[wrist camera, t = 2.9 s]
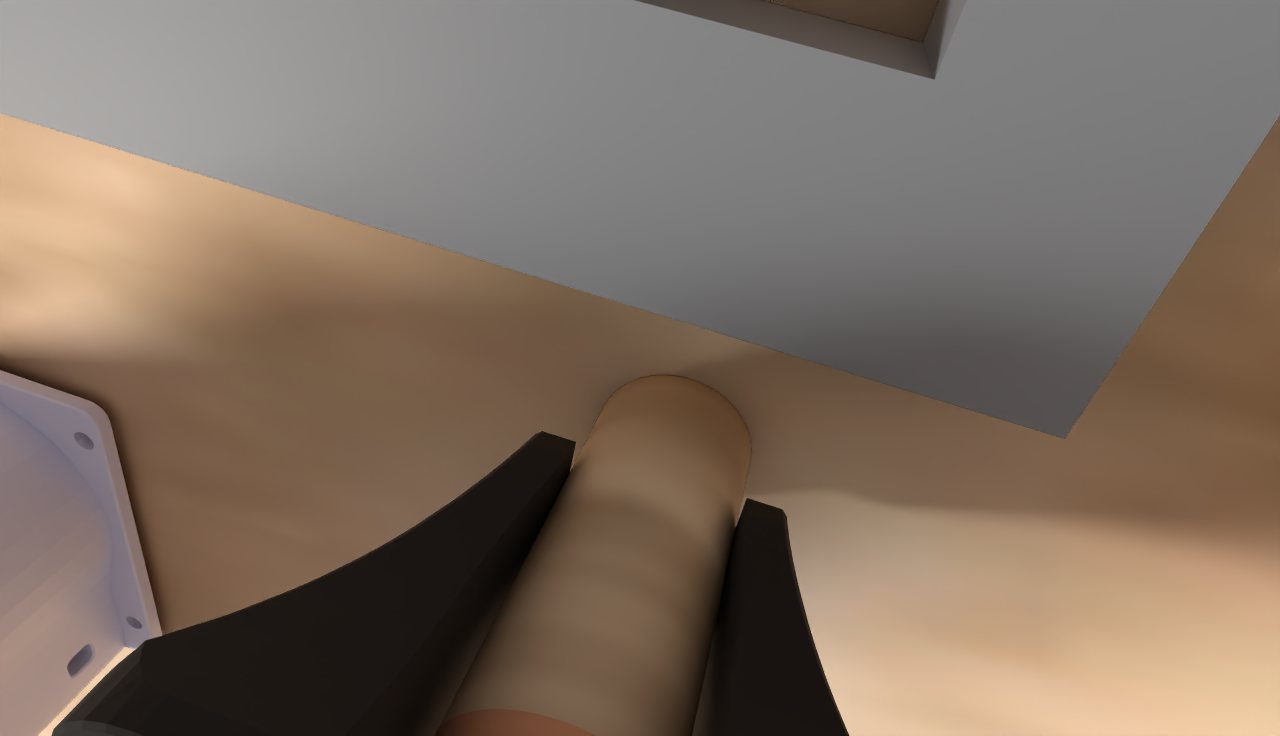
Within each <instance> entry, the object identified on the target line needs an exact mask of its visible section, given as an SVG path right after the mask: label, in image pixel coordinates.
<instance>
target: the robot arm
mask: <svg viewBox="0 0 1280 736" xmlns="http://www.w3.org/2000/svg"><path fill="white" fill-rule="evenodd" d="M575 443H576V442H574V441H571V440H568V439H565V438H562V437H559V436H556V435H552V434H549V433H546V432H543V431H542V432H539V433H537V434H535V435H534V436H533V437H532V438H531V439H530V440H529V441H527V442H526V443H525V444H524V445H523V446H522V447H521V448H520V449H518V450H517V451H516V452H515V453H514V454H513V455H511V456H510V457H509V458H508V459H507V460H505V461H504V462H503V463H502V464H501V465H499V466H498V467H497V468H496V469H494V470H493V471H492V472H491V473H489V474H488V475H487V476H486V477H484V478H483V479H482V480H480V481H479V482H478V483H476V484H475V485H474V486H472V487H471V488H470V489H468V490H467V491H466V492H464V493H463V494H461V495H460V496H459V497H457V498H456V499H455V500H453V501H452V502H450V503H449V504H447V505H446V506H444V507H443V508H441V509H440V510H438V511H437V512H435V513H434V514H432V515H431V516H429V517H428V518H426V519H425V520H423V521H422V522H420V523H419V524H417V525H416V526H414V527H413V528H411V529H409V530H408V531H406V532H404V533H403V534H401V535H399V536H398V537H396V538H394V539H393V540H391V541H389V542H387V543H386V544H384V545H382V546H380V547H379V548H377V549H375V550H373V551H371V552H369V553H368V554H366V555H364V556H362V557H360V558H358V559H356V560H354V561H352V562H350V563H348V564H346V565H344V566H342V567H340V568H338V569H336V570H334V571H332V572H330V573H328V574H326V575H324V576H322V577H320V578H317V579H315V580H313V581H311V582H309V583H306V584H304V585H302V586H299V587H297V588H295V589H292V590H290V591H287V592H285V593H282V594H280V595H277V596H275V597H272V598H270V599H267V600H265V601H262V602H260V603H257V604H255V605H252V606H250V607H247V608H245V609H242V610H239V611H237V612H234V613H231V614H228V615H225V616H223V617H220V618H216V619H213V620H210V621H207V622H204V623H201V624H197V625H194V626H191V627H188V628H185V629H182V630H178V631H175V632H172V633H169V634H166V635H163V634H162V630H161V626H160V622H159V618H158V614H157V610H156V606H155V602H154V598H153V594H152V590H151V586H150V582H149V578H148V573H147V569H146V565H145V561H144V557H143V553H142V549H141V545H140V541H139V537H138V533H137V529H136V525H135V521H134V517H133V512H132V508H131V504H130V500H129V496H128V492H127V488H126V484H125V480H124V476H123V472H122V468H121V464H120V460H119V456H118V451H117V447H116V443H115V439H114V435H113V431H112V427H111V423H110V420H109V418H108V415H107V414H106V413H105V412H104V410H103V409H102V408H101V407H99V406H98V405H97V404H95V403H93V402H91V401H89V400H86V399H83V398H80V397H77V396H74V395H72V394H69V393H66V392H63V391H60V390H57V389H54V388H51V387H48V386H45V385H42V384H40V383H37V382H34V381H31V380H28V379H25V378H22V377H19V376H16V375H13V374H10V373H8V372H5V371H2V370H0V736H38V735H39V734H40V733H41V732H42V731H43V730H44V729H45V728H46V727H47V726H48V725H49V724H50V723H51V721H52V720H53V719H54V718H55V717H56V716H57V715H58V714H59V713H60V712H61V711H62V710H63V709H64V708H65V707H66V706H67V705H68V704H69V703H70V702H71V701H72V700H73V699H74V698H75V697H76V696H77V695H78V694H79V693H80V692H81V691H82V690H83V689H84V688H85V687H86V686H87V685H88V684H89V683H90V682H91V681H92V680H93V679H94V678H95V677H96V676H97V675H98V674H99V673H100V672H101V671H102V670H103V669H104V667H105V666H106V665H107V664H108V663H109V662H110V661H111V660H112V659H113V658H114V657H115V656H116V655H117V654H118V653H119V652H120V651H121V650H122V649H123V648H124V647H128V648H131V649H133V650H134V651H133V652H132V653H131V654H129V655H128V656H127V657H126V658H125V659H123V660H122V661H121V662H120V663H119V664H117V665H116V666H115V667H114V668H113V669H112V670H111V671H110V672H109V673H108V674H107V675H106V676H105V677H104V678H103V679H102V680H101V681H100V682H99V683H98V684H97V685H96V686H95V687H94V688H93V689H92V690H91V691H90V692H89V693H88V694H87V695H86V696H85V697H84V698H83V700H82V701H81V702H80V703H79V704H78V705H77V706H76V707H75V708H74V709H73V710H72V711H71V712H70V713H69V714H68V715H67V716H66V717H65V718H64V719H63V720H62V721H61V722H60V723H59V724H58V725H57V726H56V727H55V728H54V730H53V733H52V736H435V734H436V732H437V730H438V728H439V726H440V724H441V722H442V720H443V718H444V716H445V714H446V712H447V710H448V709H449V707H450V705H451V703H452V701H453V699H454V697H455V695H456V693H457V691H458V689H459V687H460V685H461V683H462V681H463V679H464V677H465V676H466V674H467V672H468V670H469V668H470V666H471V664H472V662H473V660H474V658H475V656H476V654H477V652H478V650H479V648H480V646H481V644H482V642H483V641H484V639H485V637H486V635H487V633H488V631H489V629H490V627H491V625H492V623H493V621H494V619H495V617H496V615H497V613H498V611H499V609H500V607H501V606H502V604H503V602H504V600H505V598H506V596H507V594H508V592H509V590H510V588H511V586H512V584H513V582H514V580H515V578H516V576H517V574H518V573H519V571H520V569H521V567H522V565H523V563H524V561H525V559H526V557H527V555H528V553H529V551H530V549H531V547H532V545H533V543H534V541H535V539H536V538H537V536H538V534H539V532H540V530H541V528H542V526H543V524H544V522H545V520H546V518H547V516H548V514H549V512H550V510H551V508H552V506H553V505H554V503H555V501H556V499H557V497H558V495H559V493H560V491H561V489H562V487H563V485H564V483H565V481H566V479H567V477H568V475H569V473H570V469H571V464H572V458H573V453H574V448H575ZM692 736H849V734H848V732H847V729H846V727H845V724H844V722H843V720H842V717H841V715H840V712H839V710H838V708H837V705H836V703H835V700H834V698H833V695H832V692H831V690H830V687H829V685H828V682H827V679H826V676H825V674H824V671H823V668H822V665H821V662H820V659H819V656H818V653H817V650H816V647H815V644H814V640H813V637H812V634H811V631H810V627H809V624H808V620H807V616H806V613H805V609H804V605H803V601H802V598H801V594H800V590H799V586H798V581H797V577H796V572H795V567H794V563H793V558H792V552H791V547H790V540H789V533H788V525H787V516H786V515H785V513H784V511H783V510H782V509H779V508H776V507H773V506H770V505H767V504H764V503H761V502H758V501H755V500H752V499H748V498H747V500H746V502H745V505H744V507H743V510H742V513H741V515H740V518H739V520H738V523H737V526H736V528H735V533H734V537H733V542H732V547H731V552H730V556H729V561H728V566H727V570H726V576H725V581H724V587H723V591H722V596H721V601H720V606H719V610H718V615H717V620H716V625H715V629H714V634H713V639H712V644H711V648H710V653H709V658H708V662H707V667H706V672H705V677H704V681H703V686H702V691H701V696H700V700H699V705H698V710H697V714H696V719H695V724H694V729H693V733H692Z"/></svg>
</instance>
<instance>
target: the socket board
mask: <svg viewBox="0 0 1280 736" xmlns="http://www.w3.org/2000/svg"><path fill="white" fill-rule="evenodd" d="M0 113H1V114H4V115H8V116H11V117H14V118H18V119H21V120H24V121H27V122H31V123H34V124H37V125H40V126H44V127H47V128H50V129H53V130H57V131H60V132H63V133H67V134H70V135H73V136H76V137H80V138H83V139H86V140H89V141H93V142H96V143H99V144H103V145H106V146H109V147H112V148H116V149H119V150H122V151H125V152H129V153H132V154H135V155H138V156H142V157H145V158H148V159H152V160H155V161H158V162H161V163H165V164H168V165H171V166H174V167H178V168H181V169H184V170H188V171H191V172H194V173H197V174H201V175H204V176H207V177H210V178H214V179H217V180H220V181H223V182H227V183H230V184H233V185H237V186H240V187H243V188H246V189H250V190H253V191H256V192H259V193H263V194H266V195H269V196H273V197H276V198H279V199H282V200H286V201H289V202H292V203H295V204H299V205H302V206H305V207H308V208H312V209H315V210H318V211H322V212H325V213H328V214H331V215H335V216H338V217H341V218H344V219H348V220H351V221H354V222H358V223H361V224H364V225H367V226H371V227H374V228H377V229H380V230H384V231H387V232H390V233H393V234H397V235H400V236H403V237H407V238H410V239H413V240H416V241H420V242H423V243H426V244H429V245H433V246H436V247H439V248H443V249H446V250H449V251H452V252H456V253H459V254H462V255H465V256H469V257H472V258H475V259H478V260H482V261H485V262H488V263H492V264H495V265H498V266H501V267H505V268H508V269H511V270H514V271H518V272H521V273H524V274H528V275H531V276H534V277H537V278H541V279H544V280H547V281H550V282H554V283H557V284H560V285H563V286H567V287H570V288H573V289H577V290H580V291H583V292H586V293H590V294H593V295H596V296H599V297H603V298H606V299H609V300H613V301H616V302H619V303H622V304H626V305H629V306H632V307H635V308H639V309H642V310H645V311H648V312H652V313H655V314H658V315H662V316H665V317H668V318H671V319H675V320H678V321H681V322H684V323H688V324H691V325H694V326H698V327H701V328H704V329H707V330H711V331H714V332H717V333H720V334H724V335H727V336H730V337H734V338H737V339H740V340H743V341H747V342H750V343H753V344H756V345H760V346H763V347H766V348H769V349H773V350H776V351H779V352H783V353H786V354H789V355H792V356H796V357H799V358H802V359H805V360H809V361H812V362H815V363H819V364H822V365H825V366H828V367H832V368H835V369H838V370H841V371H845V372H848V373H851V374H854V375H858V376H861V377H864V378H868V379H871V380H874V381H877V382H881V383H884V384H887V385H890V386H894V387H897V388H900V389H904V390H907V391H910V392H913V393H917V394H920V395H923V396H926V397H930V398H933V399H936V400H939V401H943V402H946V403H949V404H953V405H956V406H959V407H962V408H966V409H969V410H972V411H975V412H979V413H982V414H985V415H989V416H992V417H995V418H998V419H1002V420H1005V421H1008V422H1011V423H1015V424H1018V425H1021V426H1024V427H1028V428H1031V429H1034V430H1038V431H1041V432H1044V433H1047V434H1051V435H1054V436H1057V437H1060V438H1064V439H1065V438H1066V436H1067V435H1068V433H1069V432H1070V430H1071V429H1072V427H1073V426H1074V424H1075V423H1076V421H1077V420H1078V418H1079V417H1080V415H1081V414H1082V412H1083V411H1084V409H1085V408H1086V406H1087V405H1088V403H1089V402H1090V400H1091V399H1092V397H1093V396H1094V394H1095V393H1096V391H1097V390H1098V388H1099V387H1100V385H1101V384H1102V382H1103V381H1104V379H1105V378H1106V376H1107V375H1108V373H1109V372H1110V370H1111V369H1112V367H1113V366H1114V364H1115V363H1116V361H1117V360H1118V358H1119V357H1120V355H1121V354H1122V352H1123V351H1124V349H1125V348H1126V346H1127V345H1128V343H1129V342H1130V340H1131V339H1132V337H1133V336H1134V334H1135V333H1136V331H1137V330H1138V328H1139V327H1140V325H1141V324H1142V322H1143V320H1144V319H1145V317H1146V316H1147V314H1148V313H1149V311H1150V310H1151V308H1152V307H1153V305H1154V304H1155V302H1156V301H1157V299H1158V298H1159V296H1160V295H1161V293H1162V292H1163V290H1164V289H1165V287H1166V286H1167V284H1168V283H1169V281H1170V280H1171V278H1172V277H1173V275H1174V274H1175V272H1176V271H1177V269H1178V268H1179V266H1180V265H1181V263H1182V262H1183V260H1184V259H1185V257H1186V256H1187V254H1188V253H1189V251H1190V250H1191V248H1192V247H1193V245H1194V244H1195V242H1196V241H1197V239H1198V238H1199V236H1200V235H1201V233H1202V232H1203V230H1204V229H1205V227H1206V226H1207V224H1208V223H1209V221H1210V220H1211V218H1212V217H1213V215H1214V214H1215V212H1216V211H1217V209H1218V208H1219V206H1220V205H1221V203H1222V202H1223V200H1224V199H1225V197H1226V196H1227V194H1228V193H1229V191H1230V190H1231V188H1232V187H1233V185H1234V184H1235V182H1236V181H1237V179H1238V178H1239V176H1240V175H1241V173H1242V172H1243V170H1244V169H1245V167H1246V166H1247V164H1248V163H1249V161H1250V160H1251V158H1252V157H1253V155H1254V154H1255V152H1256V151H1257V149H1258V148H1259V146H1260V145H1261V143H1262V142H1263V140H1264V139H1265V137H1266V136H1267V134H1268V133H1269V131H1270V130H1271V128H1272V127H1273V125H1274V124H1275V122H1276V121H1277V119H1278V118H1279V116H1280V0H939V1H938V4H937V7H936V9H935V12H934V15H933V17H932V20H931V22H930V25H929V28H928V30H927V33H926V35H925V38H924V41H923V43H922V42H918V41H914V40H910V39H907V38H903V37H899V36H895V35H891V34H887V33H883V32H880V31H876V30H872V29H868V28H864V27H860V26H857V25H853V24H849V23H845V22H841V21H837V20H834V19H830V18H826V17H822V16H818V15H814V14H810V13H807V12H803V11H799V10H795V9H791V8H787V7H784V6H780V5H776V4H772V3H768V2H764V1H761V0H0Z"/></svg>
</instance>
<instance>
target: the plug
mask: <svg viewBox="0 0 1280 736" xmlns="http://www.w3.org/2000/svg"><path fill="white" fill-rule="evenodd" d="M750 459H751V439H750V435H749V431H748V429H747V426H746V424H745V422H744V420H743V418H742V417H741V415H740V414H739V413H738V411H737V410H736V408H735V407H734V406H733V405H732V404H731V403H730V402H729V401H728V400H727V399H725V398H724V397H723V396H722V395H721V394H719V393H718V392H716V391H715V390H713V389H711V388H710V387H708V386H706V385H704V384H702V383H699V382H696V381H694V380H691V379H687V378H683V377H677V376H668V375H658V376H649V377H644V378H640V379H637V380H634V381H631V382H629V383H628V384H626V385H624V386H622V387H621V388H619V389H618V390H617V391H616V392H615V393H614V394H613V395H612V396H611V397H610V398H609V399H608V401H607V402H606V403H605V405H604V407H603V409H602V411H601V413H600V415H599V417H598V419H597V421H596V423H595V425H594V427H593V429H592V431H591V433H590V435H589V436H588V438H587V440H586V442H585V444H584V446H583V448H582V450H581V452H580V454H579V456H578V458H577V460H576V462H575V464H574V466H573V468H572V470H571V471H570V473H569V475H568V477H567V479H566V481H565V483H564V485H563V487H562V489H561V491H560V493H559V495H558V497H557V499H556V501H555V503H554V505H553V506H552V508H551V510H550V512H549V514H548V516H547V518H546V520H545V522H544V524H543V526H542V528H541V530H540V532H539V534H538V536H537V538H536V539H535V541H534V543H533V545H532V547H531V549H530V551H529V553H528V555H527V557H526V559H525V561H524V563H523V565H522V567H521V569H520V571H519V573H518V574H517V576H516V578H515V580H514V582H513V584H512V586H511V588H510V590H509V592H508V594H507V596H506V598H505V600H504V602H503V604H502V606H501V607H500V609H499V611H498V613H497V615H496V617H495V619H494V621H493V623H492V625H491V627H490V629H489V631H488V633H487V635H486V637H485V639H484V641H483V642H482V644H481V646H480V648H479V650H478V652H477V654H476V656H475V658H474V660H473V662H472V664H471V666H470V668H469V670H468V672H467V674H466V676H465V677H464V679H463V681H462V683H461V685H460V687H459V689H458V691H457V693H456V695H455V697H454V699H453V701H452V703H451V705H450V707H449V709H448V710H447V712H446V714H445V716H444V718H443V720H442V722H441V724H440V726H439V728H438V730H437V732H436V734H435V736H692V733H693V729H694V724H695V719H696V714H697V710H698V705H699V700H700V696H701V691H702V686H703V681H704V677H705V672H706V667H707V662H708V658H709V653H710V648H711V644H712V639H713V634H714V629H715V625H716V620H717V615H718V610H719V606H720V601H721V596H722V591H723V587H724V581H725V576H726V570H727V566H728V561H729V556H730V552H731V547H732V542H733V537H734V533H735V528H736V525H737V521H738V516H739V511H740V506H741V502H742V497H743V492H744V487H745V483H746V478H747V473H748V469H749V464H750Z"/></svg>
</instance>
